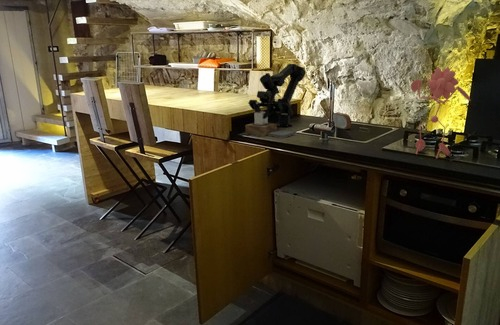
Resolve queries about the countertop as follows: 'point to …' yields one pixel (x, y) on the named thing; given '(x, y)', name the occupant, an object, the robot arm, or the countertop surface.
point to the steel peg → (260, 119)
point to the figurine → (439, 86)
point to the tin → (342, 120)
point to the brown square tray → (260, 129)
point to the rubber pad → (281, 133)
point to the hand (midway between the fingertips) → (259, 118)
